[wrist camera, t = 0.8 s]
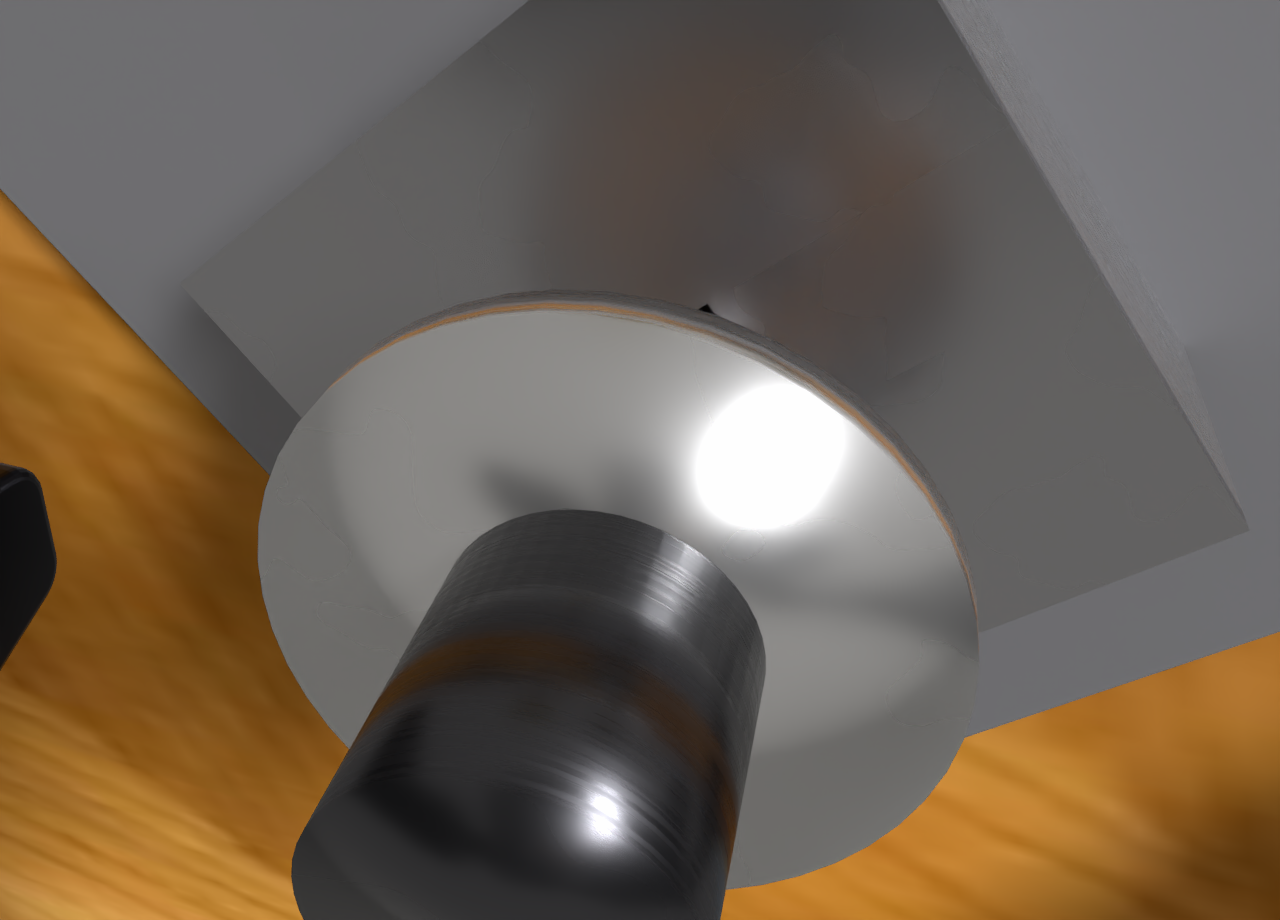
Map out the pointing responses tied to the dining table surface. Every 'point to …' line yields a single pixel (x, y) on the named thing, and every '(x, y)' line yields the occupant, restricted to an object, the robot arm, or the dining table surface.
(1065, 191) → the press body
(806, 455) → the plunger
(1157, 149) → the slate mat
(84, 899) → the dining table surface
